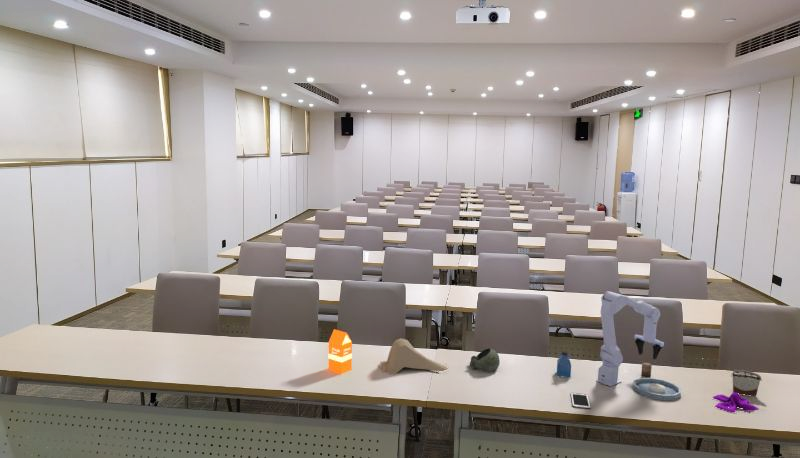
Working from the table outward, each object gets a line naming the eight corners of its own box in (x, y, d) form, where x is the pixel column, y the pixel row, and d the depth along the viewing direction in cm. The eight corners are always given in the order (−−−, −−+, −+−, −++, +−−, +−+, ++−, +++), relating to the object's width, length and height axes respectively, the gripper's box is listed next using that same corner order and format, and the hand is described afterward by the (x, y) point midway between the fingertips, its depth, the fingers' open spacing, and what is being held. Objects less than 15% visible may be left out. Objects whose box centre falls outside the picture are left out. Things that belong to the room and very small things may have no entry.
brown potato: (647, 378, 283) (648, 366, 282) (639, 375, 287) (640, 363, 286) (652, 376, 286) (653, 364, 285) (644, 373, 289) (645, 362, 288)
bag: (378, 380, 283) (448, 380, 280) (376, 348, 279) (447, 348, 275) (382, 362, 302) (449, 362, 298) (381, 331, 298) (448, 331, 294)
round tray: (665, 403, 254) (666, 399, 254) (625, 388, 270) (625, 383, 270) (688, 393, 266) (689, 388, 266) (648, 379, 282) (648, 374, 282)
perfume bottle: (570, 377, 282) (572, 354, 280) (557, 376, 283) (558, 353, 281) (569, 373, 288) (570, 350, 286) (556, 371, 289) (558, 349, 287)
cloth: (718, 413, 247) (719, 399, 247) (703, 395, 266) (705, 382, 265) (774, 418, 243) (776, 405, 243) (756, 400, 261) (757, 387, 261)
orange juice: (338, 365, 290) (339, 327, 288) (351, 369, 285) (352, 330, 283) (328, 370, 284) (328, 331, 281) (341, 374, 279) (341, 334, 276)
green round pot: (469, 361, 300) (470, 343, 299) (498, 363, 298) (499, 345, 297) (469, 372, 285) (470, 353, 284) (499, 374, 283) (500, 355, 282)
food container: (756, 392, 269) (758, 371, 268) (759, 397, 264) (762, 376, 262) (726, 388, 273) (728, 368, 272) (729, 393, 267) (731, 372, 266)
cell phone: (572, 408, 249) (572, 405, 249) (570, 394, 263) (570, 392, 263) (591, 410, 247) (591, 408, 247) (587, 396, 261) (588, 394, 261)
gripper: (668, 332, 279) (665, 359, 281) (640, 325, 291) (638, 350, 293) (660, 335, 275) (658, 362, 277) (632, 327, 287) (630, 353, 289)
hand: (647, 356), depth 285 cm, fingers open, 7 cm apart
